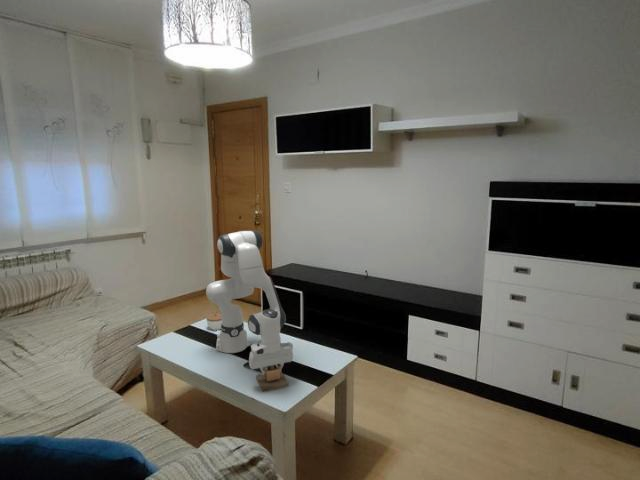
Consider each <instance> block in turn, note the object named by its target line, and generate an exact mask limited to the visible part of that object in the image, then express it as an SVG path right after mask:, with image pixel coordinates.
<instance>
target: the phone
mask: <svg viewBox="0 0 640 480" xmlns="http://www.w3.org/2000/svg"><path fill="white" fill-rule="evenodd" d="M242 367H243V368H245V369H247V370H251V371H255V372H258V373H261V374H262V371H261V370H260V368H257V369H251V368H250V366H249V360H248V361H247V362H245V363H243V365H242ZM263 370H264V367H263Z"/></svg>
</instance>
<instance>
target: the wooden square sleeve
mask: <svg viewBox="0 0 640 480" xmlns="http://www.w3.org/2000/svg"><path fill="white" fill-rule="evenodd" d="M274 368H275V369H272V370H269V366H267V367H264V370H265V371H266V375H264V376H265V378H266V380H267V382H268V381H272V380H277V379H280V368H279V364H276V365H274Z"/></svg>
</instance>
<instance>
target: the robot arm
mask: <svg viewBox="0 0 640 480" xmlns="http://www.w3.org/2000/svg"><path fill="white" fill-rule="evenodd" d="M216 246H217V247H216V248H217V250H218V252H219V254H221V256H220V262H221V263H220V271H221V272H222V274H223V275H225V276H227V277H228V278H227V279H220V280H216V281H213V282H211V283H209V284H208V285H207V287H206V290H205V294H206V298H207V299H208V300H209V302H212V303H214V304H215V305H216V306H217V307H218V308H219V311H220V313H221V318H222V324H221V329H220V332H219V334H216V337H217V339H216V344H215V345H216V347H215V351H216V352H223V353H226V354H235V353H241V352H243V351H245V350H246V349H247V348H248V347H249V346H250V350H251V351H250V352H249V357H248V361H249V366H250V368H251V369H257V368H260V370H261V371H262V373H261V374H262V375H266V371H265V370H263V367H267V366H272V365H276V364H277V365H278V367H279V368H280V372H282V369H283V367H284V364H285V363H291V362H292V361H293V360H294V355H293V347H294V346H293V343H292V342H289V341H287V342H281V341H282V340H281V339H282V338H281V333H280V332H281V329H282V328H283V327H284V326H285V323H286V322H287V317H286V316H287V315H286V313H285V311H284V309H283V307H282V304H281V301H280V299H279V295H278V292H277V289H276V286H275V283H274V281H273V278H272V277H271V276H269V275H268V274H267V273H266V270H265V268H264V264H263V263H264V262H263V260H262V256H261V252H260V250H261V248H262V247H263V236H262V234H261V233H260V232H259V231H258V230H254V229H253V230H252V229H251V230H239V231H236V232H231V233H228V234H227V233H224V234H222V235H220V236H219V237H218V238H217V245H216ZM255 288H256V289H257V288H258V289H261V290H262V291H263V292H264V293H265V295H266V298H267V301H268V305H269V308H267V309H264V310H263V311H259V312H256V313H252V314H250V316H249V317H248V320H247V327H248V330H249V331H250V333H252V334H255V335H257V336H261V339H260V340H259V341H257V342H255V343H253V344H251V342H250V341H249V340H248V332H247V330H246V329H244V328H245V326H244V325H245V323H244V321H243V319H244V318H243V309H242V307H241V306H240V305H238V304H235V303H232V300H236V299H237V300H238V299H242V298H246V297H249V296H251V295H253V293H254V291H255ZM251 369H250V370H251Z"/></svg>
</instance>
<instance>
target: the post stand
mask: <svg viewBox="0 0 640 480" xmlns="http://www.w3.org/2000/svg"><path fill="white" fill-rule="evenodd" d="M272 369H275V368H274V365H272V366H269V370H272ZM255 378H256V381H257V383H258V385H259V388H260V389H261V391H262V393H264V392H269V391H273V390H278V389H282V388H286V387H289V382H288V379H286V377H285V375H284V374H283V372H282V371H281V372H280V379H277V380H272V381H268V382H267V380H266V378H265V376H264V375H262V373H261V374H258V375H257V374H256V375H255Z"/></svg>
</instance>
